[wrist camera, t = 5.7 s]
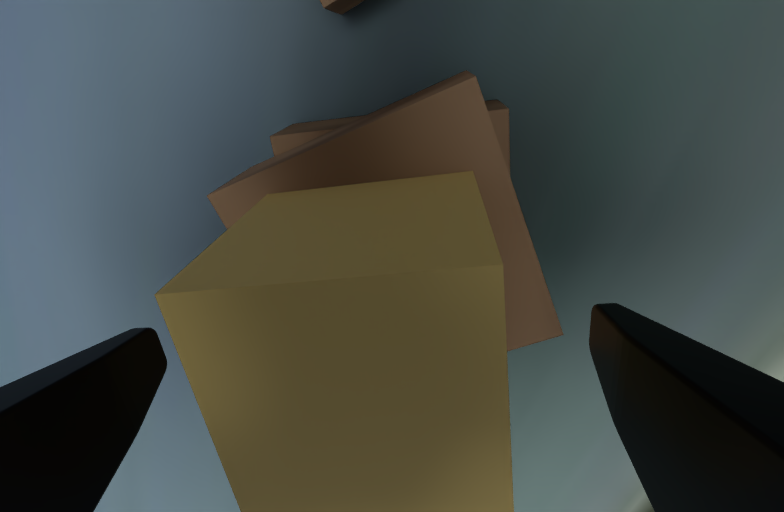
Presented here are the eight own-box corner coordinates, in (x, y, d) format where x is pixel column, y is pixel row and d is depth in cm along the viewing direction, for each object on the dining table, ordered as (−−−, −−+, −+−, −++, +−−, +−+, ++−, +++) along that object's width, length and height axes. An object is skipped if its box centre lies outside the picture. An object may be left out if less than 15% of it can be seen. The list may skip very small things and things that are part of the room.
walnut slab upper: (466, 70, 12) (476, 76, 10) (539, 282, 15) (563, 334, 12) (250, 167, 14) (206, 195, 11) (348, 344, 16) (331, 402, 14)
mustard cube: (473, 170, 11) (503, 264, 6) (484, 348, 13) (514, 518, 8) (266, 194, 11) (154, 294, 7) (309, 359, 13) (245, 523, 9)
